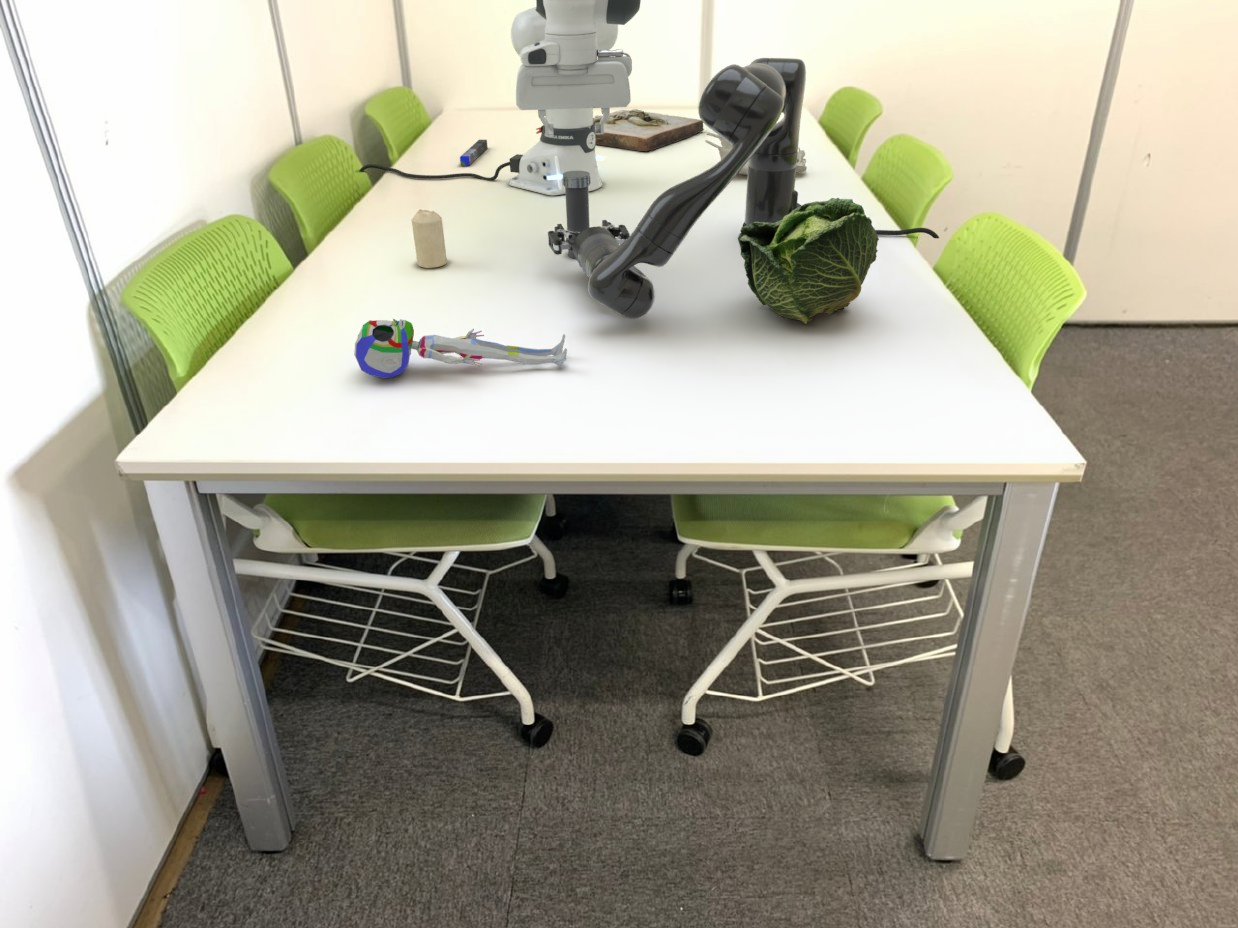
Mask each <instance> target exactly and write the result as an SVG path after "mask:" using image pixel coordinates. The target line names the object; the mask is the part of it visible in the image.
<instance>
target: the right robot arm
mask: <svg viewBox="0 0 1238 928" xmlns="http://www.w3.org/2000/svg"><path fill="white" fill-rule="evenodd" d="M806 67H807V66H806V65H805V61H803V59H800V58H788V57H787V58H785V57H759V58H755V59H754V60H752V61H751V63H750V64H748V65H746V66H741V65H739V64H736V63H734V64H730V65H727V66H725V67H724V68H722V69H721V70H719V71H718V72H717V73H716V74H715V75H714V76H713V77H712V78H711V79H710V81H709V82H708V83H707V84H706V86H705V88H704V89H703V91H702V93H701V96H700V99H699V103H698V116H699V118H700V120H702V121H703V125H705V126H706V127H707V128H708V129H709V130H712V132H713V133H714V134H717V135H719V136H721V137H722V138H723V139H725V140H726V141H728V142H729V143H730V144H731V145H732V148H731V150H730V151H729V152H728V153H727V155H726V156H725V157H724V158H723V159H722V160H721V159H720V160H719V161H718V162H717V163H716V164H715V165H712V167H710V168H708V169H706V170H705V171H703V172H701V173H699V174H697V175H695V176H693V177H691V178H689V179H686V180H684V181H682V182H679V183H677V184H675V185H673V186H672V187H670V188H668V189H666V190H665V191H664V192H662V193H661V194H660V195H658V197H656V199H655V200H654V201H653V202H652V204H650V206H649V207H648V209H647V210H646V212H645V213H644V215H643V217H642V218H641V219H640V221H639V222H638V224H637V225H636V227H635V229H633V231H632V233H631V234H630V232H629V230H628V228H627V227H626V225H625V224H618V227H616V226H615V224H612V222H610V221H608V220H607V219H602V220H601V226H591V227H590V226H589V227H590V228H587V229H585V230H584V231H583V230H582V231H578V230H574V229H569V230H567V229H565V227H563V224H562V223H557V224H556V226H554V230H549V231H547V236H548V246H549V249H551V251H552V252H553V254H554V255H557V256H559V255H562V252H563V250H568V249H569V250H570V251H571V252H574V254H575V257H576V259H575V260H577V263H578V265H579V267H580V268H581V270H582V271H583V273H584V274H585V275H586V276H587V277H588V282H587V290H588V292H587V293H588V294H589V296H590V298H591V299H592V300H593V301H594V302H596V303H598V304H599V305H601V306H603V307H605V308H607V309H609V310H610V311H612V312H614V313H616V314H618V315H620V316H621V317H623V318H625V319H628V320H637V319H640V318H643V317H644V316H646V315H647V314H648V313H649V312H650V311H651V310H652V307H653V305H654V302H655V297H656V293H655V286H654V284H653V282H652V280H651V279H650V278H649V277H648V276H647V275H646V274H645V273H644V272H642V271H641V270H640V269H639V268H638V267H636V265H638V264H645V265H649V266H652V267H657V268H662V267H664V266H666V265H667V264H668V263H669V262H670V260H671V259H672V257H673V256H674V254H675V253H676V252H677V251H678V249H679V247H680V246H681V244H682V243H683V241H684V240H685V238H686V237H687V236H688V234H689V232H691V230H692V228H693V227H694V226H695V224H696V223H697V222H698V220H699V219H700V218H701V216H702V215H703V214H704V213H705V212H706V211H707V209H708V208H709V207H710V206H711V204H712V203H714V202H715V200H716V199H717V198H718V197H719V196H720V195H721V193H723V191H724V190H725V189H726V188H727V187H728V185H729V184H730V183H731V182H732V181H733V180H734V178H735V177H736V176H737V175H738V174H739V173H738V172H739V171H740V170H741V169H742V167H743V166H744V165H745V164H746V163H747V161H748V175H747V177H746V178H747V179H746V193H745V194H746V195H745V210H744V211H745V212H744V222H743V223H742V227H743V226H746V225H748V224H750V223H753V222H767V223H775V222H778V221H780V220H782V219H783V218H784V216H786V215H788V214H790V212H791V211H793V210H795V209H796V208H798V207H800V206H802V205H803V204H800V203H799V202H798V201H799V200H798V199H799V192H798V191H797V190H796V189H795V188H796V186H795V185H796V175H797V173H796V164H797V153H798V152H799V149H798V148H799V141H800V129H801V119H802V110H803V102H804V97H805V90H806V84H807V83H806V81H807V68H806ZM782 113H783V117H782V119H781V120H779V119H780V117H781V115H782ZM875 230H876V234H877V236H905V235H911V234H918V233H921V234H922V233H923V234H927V235H928V236H931V237H932V238H933V239H940V237H939V235H938V234H937V233H936V232H935V231H934V230H932V229H930V228H926V227H913V228H907V229H899V230H893V229H892V230H891V229H888V230H887V229H875ZM573 235H575V236H574V237H573Z"/></svg>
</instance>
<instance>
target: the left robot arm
mask: <svg viewBox="0 0 1238 928" xmlns="http://www.w3.org/2000/svg"><path fill="white" fill-rule="evenodd" d="M535 1H536V3H535V4H536V6H535V7H531V8H529V9H526V10H523V11H521V12H518V13H517V14H516V15H515V17H514V18H513V21H512V24H511V28H510V40H511V43H512V46H513V49H514V51H515V53H516V54H517V55H518V56H519V58H520V62H521V63H522V64H521V65H520V66H519V68H518V71H517V75H516V83H515V87H516V88H515V104H516V107H517V108H518V109H519V110H520V111H537V116H538V118H539V120H540V122H541V123H542V125H541V126H540V127H537V128H535V130H536V132H535V133H536V134H540V138H539V141H538V142H536V143H535V144H534V145H533V146H532V147H530V149H529V150H527V151H526V152H525V153H524V154H520V153H519V154H518V153H517V154H514V155H513V156H511V157H510V158H509V161H508V162H507V161H506V162H504V163H502V164H500V165H499V166H498V167H497V168H496V169H495V173H494V175H493V176H491V177H486V176H482V175H480V174H476V173H471V172H462V173H461V172H459V173H451V174H435V175H434V174H433V175H431V174H429V175H428V174H415V173H408V172H404V171H401V169H397V168H393V167H389V166H388V167H387V166H383V165H380V164H374V163H369V164H365V165H363V166H361V168H360V169H359V170H358V172H359V173H360V172H361V173H362V172H364V171H365V170H367V169H371V168H372V169H379V170H383V171H386V172H391V173H392V172H393V173H396V174H398V175H400V176H402V177H406V178H413V179H422V180H443V179H452V178H453V179H454V178H475V179H479V180H483V181H489V182H492V181H493V182H494V181H495V180H497V178H498V177H499V174H500V172H501V170H502V169H504V168H507V167H509V171H510V173H516V175H514V176H513V177H512V178H511V179H510V180H509V186H511V187H514V188H517V189H518V188H519V189H523V190H527V191H531V192H535V193H539V194H543V195H545V196H559V195H566V193H565V187H564V186H563V180H562V176H563V173H565V172H568V171H586V172H589V173H590V182H591V184H590V185H589V186H588V193H589V192H592V191H595V190H598V189H600V188H601V187H602V186H603V183H602V180H601V178H600V177H601V176H600V173H599V168H598V163H597V161H605V156H602V155H596V145H597V144H596V134H604V124H605V122H606V120H607V118H608V116H609V115H610V113H611V112H610V108H611V109H612V108H613V109H614V108H628V107H629V104H630V103H631V102H632V101H631V100H632V99H631V86H630V79H629V78H630V76H631V74H632V70H633V60H632V58H631V57H632V56H631V55H630V54H629V53H627V52H625V51H624V50H623V49H613V47H614V46H615V44H616V42H617V41H618V40H617V39H618V35H619V25H620V26H625V25H626V24H628V22H629V21H631V20H632V19H633V18H634V17H635V16H636V15H637V13H638V12H639V11H640V8H641V2H642V0H535ZM594 109H600V111H601V116H602V118H601V120H600V122H597V123H595V124H594V123H593V118H594ZM595 127H596V129H595ZM517 173H518V174H517Z"/></svg>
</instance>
